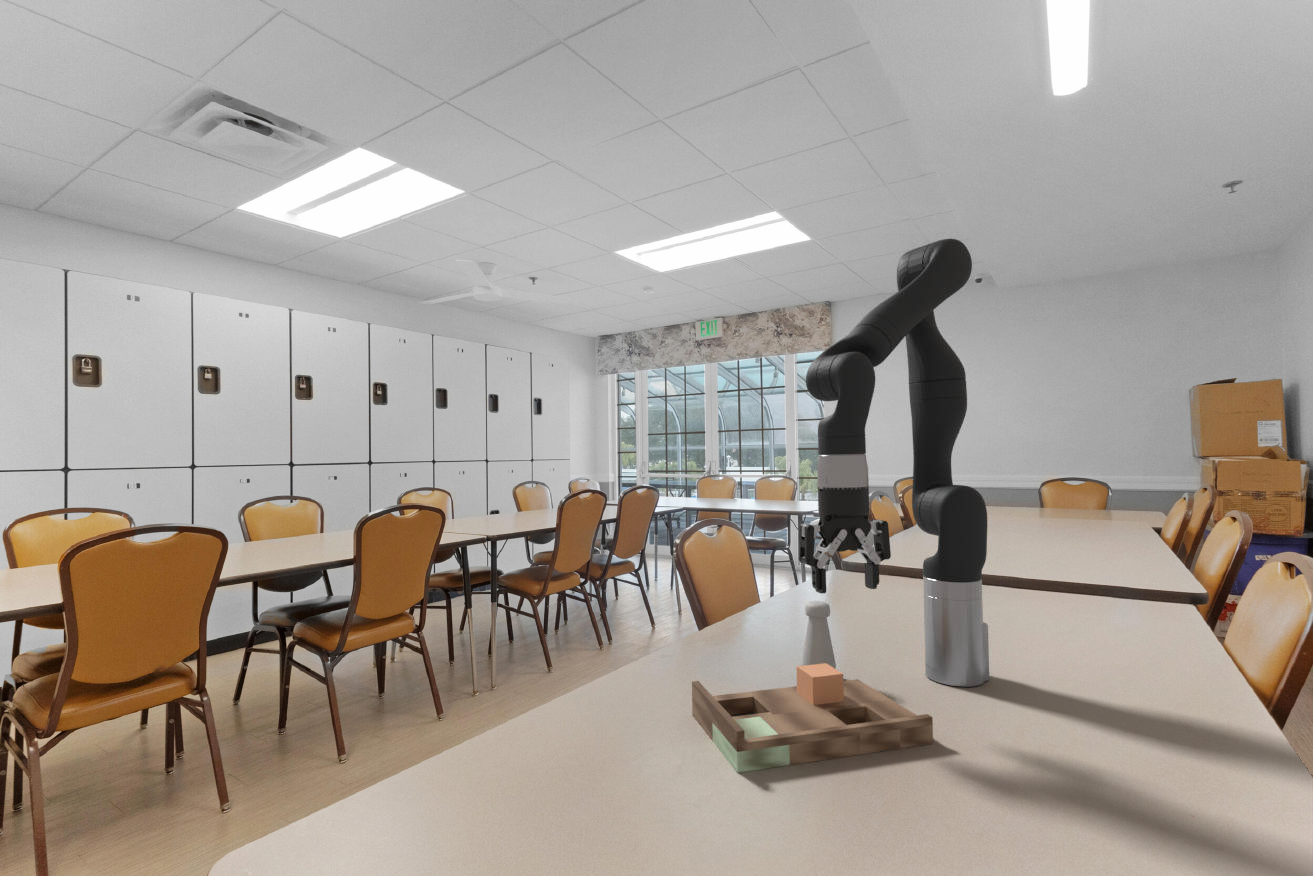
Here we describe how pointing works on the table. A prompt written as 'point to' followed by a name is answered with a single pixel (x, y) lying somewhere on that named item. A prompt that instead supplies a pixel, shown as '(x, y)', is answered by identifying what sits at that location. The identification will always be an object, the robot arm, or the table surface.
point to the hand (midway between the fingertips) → (846, 590)
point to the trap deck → (805, 725)
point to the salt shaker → (818, 635)
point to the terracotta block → (820, 684)
